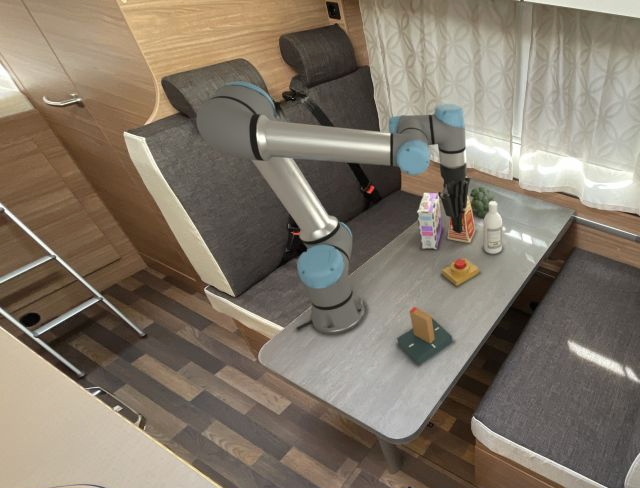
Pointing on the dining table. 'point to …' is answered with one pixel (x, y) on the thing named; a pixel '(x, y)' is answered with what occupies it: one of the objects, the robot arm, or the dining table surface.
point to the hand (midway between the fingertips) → (457, 231)
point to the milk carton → (463, 226)
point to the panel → (424, 343)
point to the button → (460, 264)
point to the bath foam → (492, 230)
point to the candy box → (429, 220)
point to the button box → (460, 272)
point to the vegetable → (481, 200)
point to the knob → (422, 325)
